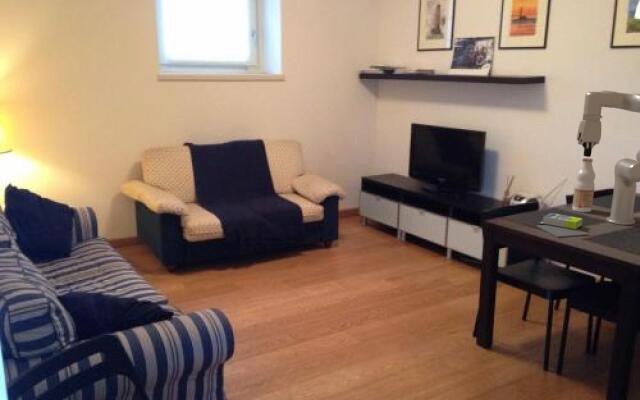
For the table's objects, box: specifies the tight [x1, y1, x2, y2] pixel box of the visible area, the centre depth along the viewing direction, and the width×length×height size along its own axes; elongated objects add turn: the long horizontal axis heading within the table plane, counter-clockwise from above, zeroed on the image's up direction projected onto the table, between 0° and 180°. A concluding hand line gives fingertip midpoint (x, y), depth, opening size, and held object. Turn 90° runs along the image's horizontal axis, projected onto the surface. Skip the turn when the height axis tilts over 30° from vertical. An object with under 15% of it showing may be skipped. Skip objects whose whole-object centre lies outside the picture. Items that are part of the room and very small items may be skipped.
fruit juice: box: [571, 157, 596, 213], centre depth 290 cm, size 9×9×28 cm
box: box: [538, 212, 583, 229], centre depth 266 cm, size 10×4×17 cm
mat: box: [536, 224, 590, 238], centre depth 259 cm, size 16×17×1 cm
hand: (587, 156), depth 265 cm, fingers closed
